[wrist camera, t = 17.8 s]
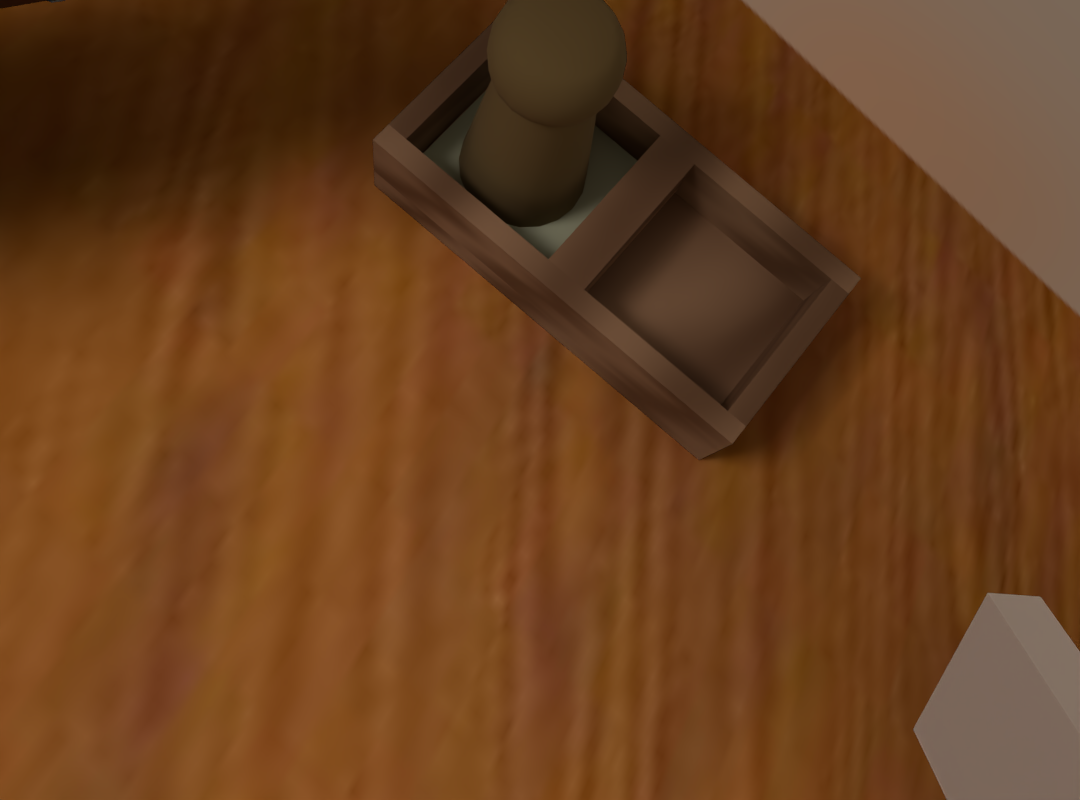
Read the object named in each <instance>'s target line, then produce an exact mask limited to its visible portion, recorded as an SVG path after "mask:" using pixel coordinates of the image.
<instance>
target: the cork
mask: <svg viewBox="0 0 1080 800" xmlns="http://www.w3.org/2000/svg"><path fill="white" fill-rule="evenodd" d="M487 59H488V69H489V73H490V77H491V81H490V83H489V86H488V88H487V90H486V92H485V94H484V97H483V99H482V101H481V103H480V105H479V108H478V110H477V112H476V114H475V116H474V119H473V121H472V123H471V125H470V127H469V130H468V132H467V134H466V136H465V138H464V141H463V144H462V148H461V152H460V156H459V168H460V178H461V180H462V183H463V185H464V187H465V189H466V190H467V191H468V192H469V193H471V194H472V195H473V196H474V197H475V198H476V199H478V200H479V201H480V202H481V203H482V204H484V205H485V206H486V207H487V208H488V209H489V210H491V211H492V212H493V213H494V214H495V215H497V216H498V217H499V218H500V219H501V220H503V221H504V222H505V223H506V224H509V225H513V226H517V227H540V226H542V225H545V224H548V223H551V222H554V221H557V220H559V219H560V218H561V217H562V216H564V215H565V214H566V213H568V212H569V211H570V210H571V209H573V207H574V206H575V204H576V203H577V201H578V199H579V198H580V196H581V195H582V193H583V189H584V185H585V181H586V176H587V170H588V164H589V158H590V152H591V145H592V139H593V133H594V127H595V120H596V114H597V113H598V112H599V111H601V110H602V109H603V108H604V107H605V106H606V105H608V103H609V102H610V100H611V99H612V97H613V96H614V94H615V93H616V91H617V90H618V88H619V86H620V84H621V82H622V79H623V75H624V70H625V66H626V61H627V51H626V43H625V35H624V32H623V30H622V28H621V25H620V23H619V21H618V19H617V17H616V15H615V14H614V12H613V11H612V10H611V9H610V7H609V6H608V5H607V4H606V3H605V2H604V1H603V0H508V1H507V3H506V4H505V5H504V7H503V8H502V10H501V11H500V12H499V14H498V15H497V17H496V18H495V20H494V21H493V24H492V28H491V32H490V36H489V39H488V45H487Z"/></svg>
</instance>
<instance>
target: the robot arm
mask: <svg viewBox="0 0 1080 800" xmlns="http://www.w3.org/2000/svg"><path fill="white" fill-rule="evenodd" d="M42 1H49V2H51V3H52V2H60V1H65V0H0V8H6V7H12V6H18V5H24V4H30V3H36V2H42ZM913 730H914V732H915V734H916V736H917V738H918V740H919V742H920V744H921V747H922V749H923V751H924V753H925V755H926V757H927V759H928V761H929V763H930V765H931V768H932V770H933V772H934V774H935V776H936V778H937V780H938V782H939V784H940V787H941V789H942V791H943V793H944V795H945V797H946V799H947V800H1080V651H1079V650H1078V649H1077V647H1076V646H1075V644H1074V643H1073V642H1072V640H1071V639H1070V637H1069V636H1068V635H1067V633H1066V632H1065V630H1064V629H1063V627H1062V626H1061V625H1060V623H1059V622H1058V620H1057V619H1056V618H1055V616H1054V615H1053V613H1052V612H1051V611H1050V609H1049V608H1048V606H1047V605H1046V604H1045V602H1044V601H1043V599H1042V598H1041V597H1038V596H1024V595H1010V594H996V593H987V595H986V597H985V599H984V600H983V602H982V604H981V606H980V608H979V610H978V611H977V613H976V615H975V617H974V619H973V621H972V622H971V624H970V626H969V628H968V630H967V632H966V633H965V635H964V637H963V639H962V641H961V643H960V644H959V646H958V648H957V650H956V652H955V654H954V655H953V657H952V659H951V661H950V663H949V664H948V666H947V668H946V670H945V672H944V674H943V675H942V677H941V679H940V681H939V683H938V685H937V686H936V688H935V690H934V692H933V694H932V696H931V697H930V699H929V701H928V703H927V705H926V707H925V708H924V710H923V712H922V714H921V716H920V718H919V719H918V721H917V723H916V725H915V727H914V729H913Z"/></svg>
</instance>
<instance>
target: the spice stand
mask: <svg viewBox="0 0 1080 800" xmlns="http://www.w3.org/2000/svg"><path fill="white" fill-rule="evenodd" d="M492 24H493V22H492V23H491V24H490V25H489V26H488V27H487V28H486V29H485V30H484V31H483V32H482V33H481V34H480V35H479V36H478V37H477V38H476V39H475V40H474V41H473V42H472V43H471V44H470V45H469V46H468V47H467V48H466V49H465V50H464V51H463V52H462V53H461V54H460V55H459V56H458V57H457V58H456V59H455V60H454V61H453V62H452V63H451V64H450V65H449V66H447V67H446V68H445V69H444V70H443V71H442V72H441V73H440V74H439V75H438V76H437V77H436V78H435V79H434V80H433V81H432V82H431V83H430V84H429V85H428V86H427V87H426V88H425V89H424V90H423V91H422V92H421V93H420V94H419V95H418V96H417V97H416V98H415V99H414V100H413V101H412V102H411V103H410V104H409V105H408V106H407V107H406V108H405V109H404V110H403V111H401V112H400V113H399V114H398V115H397V116H396V117H395V118H394V119H393V120H392V121H391V122H390V123H389V124H388V125H387V126H386V127H385V128H384V129H383V130H382V131H381V132H380V133H379V134H378V135H377V136H376V137H375V138H374V139H373V158H374V183H375V186H376V187H377V188H379V189H380V190H381V191H382V192H383V193H385V194H386V195H387V196H388V197H389V198H390V199H392V200H393V201H394V202H395V203H396V204H397V205H399V206H400V207H401V208H402V209H403V210H405V211H406V212H407V213H408V214H409V215H410V216H412V217H413V218H414V219H415V220H416V221H418V222H419V223H420V224H421V225H422V226H423V227H425V228H426V229H427V230H428V231H429V232H431V233H432V234H433V235H434V236H435V237H436V238H438V239H439V240H440V241H441V242H442V243H444V244H445V245H446V246H447V247H448V248H449V249H451V250H452V251H453V252H454V253H455V254H456V255H458V256H459V257H460V258H461V259H462V260H464V261H465V262H466V263H467V264H468V265H469V266H471V267H472V268H473V269H474V270H475V271H477V272H478V273H479V274H480V275H481V276H482V277H484V278H485V279H486V280H487V281H488V282H490V283H491V284H492V285H493V286H494V287H495V288H497V289H498V290H499V291H500V292H501V293H503V294H504V295H505V296H506V297H507V298H508V299H510V300H511V301H512V302H513V303H514V304H516V305H517V306H518V307H519V308H520V309H521V310H523V311H524V312H525V313H526V314H527V315H528V316H530V317H531V318H532V319H533V320H534V321H536V322H537V323H538V324H539V325H540V326H541V327H543V328H544V329H545V330H546V331H547V332H549V333H550V334H551V335H552V336H553V337H554V338H556V339H557V340H558V341H559V342H560V343H562V344H563V345H564V346H565V347H566V348H567V349H569V350H570V351H571V352H572V353H573V354H575V355H576V356H577V357H578V358H579V359H580V360H582V361H583V362H584V363H585V364H586V365H587V366H589V367H590V368H591V369H592V370H593V371H595V372H596V373H597V374H598V375H599V376H600V377H602V378H603V379H604V380H605V381H606V382H608V383H609V384H610V385H611V386H612V387H613V388H615V389H616V390H617V391H618V392H619V393H621V394H622V395H623V396H624V397H625V398H626V399H628V400H629V401H630V402H631V403H632V404H634V405H635V406H636V407H637V408H638V409H639V410H641V411H642V412H643V413H644V414H645V415H647V416H648V417H649V418H650V419H651V420H652V421H654V422H655V423H656V424H657V425H658V426H659V427H661V428H662V429H663V430H664V431H665V432H667V433H668V434H669V435H670V436H671V437H672V438H674V439H675V440H676V441H677V442H678V443H680V444H681V445H682V446H683V447H684V448H685V449H687V450H688V451H689V452H690V453H691V454H693V455H694V456H695V457H696V458H697V459H698V460H700V459H702V458H704V457H706V456H708V455H710V454H712V453H714V452H717V451H719V450H721V449H723V448H725V447H727V446H729V445H731V444H733V443H734V441H735V440H736V439H737V437H738V436H739V435H740V433H741V432H742V431H743V430H744V428H745V427H746V426H747V424H748V423H749V422H750V421H751V419H752V418H753V417H754V415H755V414H756V413H757V412H758V410H759V409H760V408H761V406H762V405H763V404H764V403H765V401H766V400H767V399H768V397H769V396H770V395H771V393H772V392H773V391H774V390H775V388H776V387H777V386H778V384H779V383H780V382H781V381H782V379H783V378H784V377H785V375H786V374H787V373H788V372H789V370H790V369H791V368H792V366H793V365H794V364H795V363H796V361H797V360H798V359H799V357H800V356H801V355H802V354H803V352H804V351H805V350H806V348H807V347H808V346H809V344H810V343H811V342H812V341H813V339H814V338H815V337H816V335H817V334H818V333H819V332H820V330H821V329H822V328H823V326H824V325H825V324H826V323H827V321H828V320H829V319H830V317H831V316H832V315H833V314H834V312H835V311H836V310H837V308H838V307H839V306H840V304H841V303H842V302H843V301H844V299H845V298H846V297H847V295H848V294H849V293H850V292H851V290H852V289H853V288H854V286H855V285H856V284H857V283H858V281H859V280H860V279H861V278H860V277H859V276H858V275H857V274H856V273H854V272H853V271H852V270H851V269H850V268H848V267H847V266H846V265H845V264H844V263H842V262H841V261H840V260H839V259H838V258H836V257H835V256H834V255H833V254H832V253H830V252H829V251H828V250H827V249H826V248H825V247H823V246H822V245H821V244H820V243H819V242H817V241H816V240H815V239H814V238H813V237H811V236H810V235H809V234H808V233H807V232H805V231H804V230H803V229H802V228H801V227H799V226H798V225H797V224H796V223H795V222H793V221H792V220H791V219H790V218H789V217H787V216H786V215H785V214H784V213H783V212H782V211H780V210H779V209H778V208H777V207H776V206H774V205H773V204H772V203H771V202H770V201H768V200H767V199H766V198H765V197H764V196H762V195H761V194H760V193H759V192H758V191H756V190H755V189H754V188H753V187H752V186H750V185H749V184H748V183H747V182H746V181H745V180H743V179H742V178H741V177H740V176H739V175H737V174H736V173H735V172H734V171H733V170H731V169H730V168H729V167H728V166H727V165H725V164H724V163H723V162H722V161H721V160H719V159H718V158H717V157H716V156H715V155H713V154H712V153H711V152H710V151H709V150H708V149H706V148H705V147H704V146H703V145H702V144H700V143H699V142H698V141H697V140H696V139H694V138H693V137H692V136H691V135H690V134H688V133H687V132H686V131H685V130H684V129H682V128H681V127H680V126H679V125H678V124H676V123H675V122H674V121H673V120H672V119H670V118H669V117H668V116H667V115H666V114H665V113H663V112H662V111H661V110H660V109H659V108H657V107H656V106H655V105H654V104H653V103H651V102H650V101H649V100H648V99H647V98H645V97H644V96H643V95H642V94H641V93H639V92H638V91H637V90H636V89H635V88H633V87H632V86H631V85H630V84H629V83H628V82H626V81H625V80H624V79H622V82H621V84H620V86H619V88H618V90H617V91H616V93H615V94H614V96H613V97H612V99H611V100H610V102H609V103H608V105H606V106H605V107H604V108H603V109H602V110H601V111H599V112H598V113H597V114H596V120H595V127H594V133H593V139H592V145H591V152H590V158H589V164H588V170H587V176H586V181H585V185H584V189H583V193H582V195H581V196H580V198H579V199H578V201H577V203H576V204H575V206H574V207H573V209H571V210H570V211H569V212H568V213H566V214H565V215H564V216H562V217H561V218H560V219H559V220H557V221H554V222H551V223H548V224H545V225H542V226H540V227H517V226H513V225H509V224H506V223H505V222H504V221H503V220H501V219H500V218H499V217H498V216H497V215H495V214H494V213H493V212H492V211H491V210H489V209H488V208H487V207H486V206H485V205H484V204H482V203H481V202H480V201H479V200H478V199H476V198H475V197H474V196H473V195H472V194H471V193H469V192H468V191H467V190H466V189H465V187H464V185H463V183H462V180H461V178H460V168H459V156H460V152H461V148H462V144H463V141H464V138H465V136H466V134H467V132H468V130H469V127H470V125H471V123H472V121H473V119H474V116H475V114H476V112H477V110H478V108H479V105H480V103H481V101H482V99H483V97H484V94H485V92H486V90H487V88H488V86H489V83H490V81H491V77H490V73H489V69H488V59H487V45H488V39H489V36H490V32H491V28H492Z"/></svg>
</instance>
